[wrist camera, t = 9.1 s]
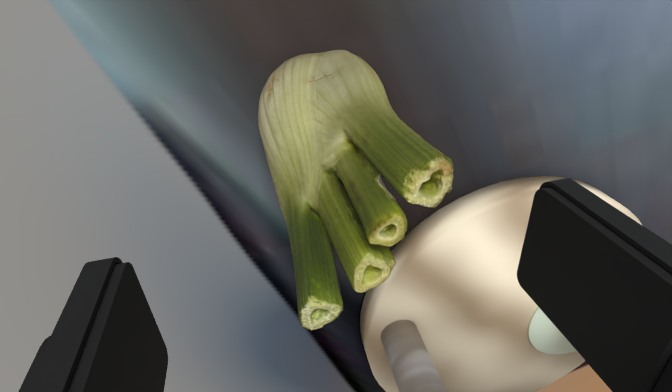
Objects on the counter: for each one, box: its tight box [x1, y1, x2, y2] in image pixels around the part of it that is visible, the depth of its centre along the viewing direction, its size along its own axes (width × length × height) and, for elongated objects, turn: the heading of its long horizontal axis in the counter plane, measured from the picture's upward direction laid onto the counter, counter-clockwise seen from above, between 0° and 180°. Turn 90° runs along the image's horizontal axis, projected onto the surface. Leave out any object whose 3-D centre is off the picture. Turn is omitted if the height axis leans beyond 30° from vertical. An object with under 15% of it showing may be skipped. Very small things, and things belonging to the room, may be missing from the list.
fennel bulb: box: [258, 50, 453, 330], centre depth 15 cm, size 6×5×12 cm
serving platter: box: [360, 176, 642, 392], centre depth 27 cm, size 20×20×6 cm
